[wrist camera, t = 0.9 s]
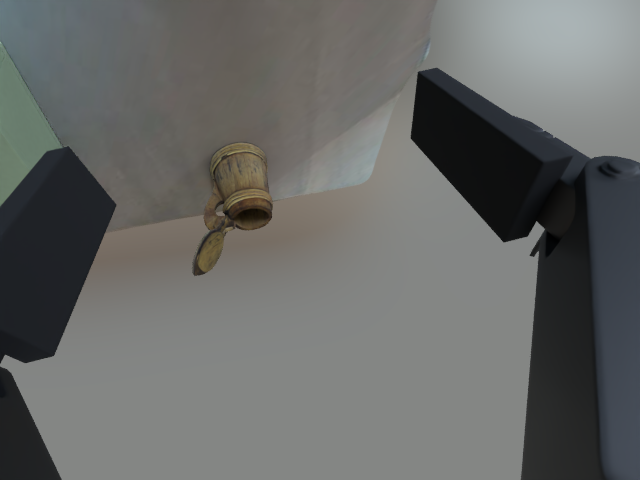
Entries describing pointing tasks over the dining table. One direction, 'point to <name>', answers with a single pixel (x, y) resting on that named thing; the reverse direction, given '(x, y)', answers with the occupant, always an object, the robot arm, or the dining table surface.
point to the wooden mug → (234, 199)
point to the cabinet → (19, 128)
